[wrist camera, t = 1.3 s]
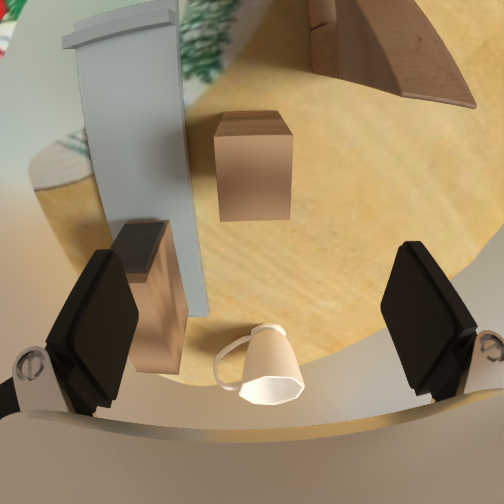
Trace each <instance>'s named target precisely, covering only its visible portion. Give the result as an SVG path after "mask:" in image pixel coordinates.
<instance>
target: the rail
mask: <svg viewBox="0 0 504 504" xmlns="http://www.w3.org/2000/svg"><path fill="white" fill-rule="evenodd" d="M62 47H63V49H75V48H76V56H77V67H78V78H79V87H80V94H81V102H82V108H83V115H84V121H85V128H86V133H87V139H88V144H89V149H90V154H91V159H92V164H93V168H94V173H95V177H96V181H97V185H98V190H99V194H100V198H101V201H102V205H103V209H104V213H105V216H106V220H107V223H108V227H109V230H110V234H111V237H112V240H113V242H114V241H115V239H116V237H117V236H118V234H119V232H120V230H121V229H122V227H123V226H124V224H126V223H127V222H138V221H155V220H170V223H171V228H172V234H173V239H174V244H175V249H176V254H177V259H178V264H179V269H180V274H181V278H182V283H183V288H184V292H185V296H186V301H187V305H188V309H189V312H188V317H209V304H208V298H207V292H206V285H205V279H204V272H203V266H202V259H201V252H200V245H199V238H198V231H197V223H196V216H195V208H194V200H193V192H192V183H191V174H190V165H189V156H188V146H187V136H186V125H185V113H184V101H183V87H182V73H181V56H180V36H179V8H178V0H155V1H150V2H145V3H141V4H136V5H132V6H128V7H124V8H120V9H117V10H113V11H109V12H106V13H103V14H99V15H96V16H93V17H90V18H87V19H84V20H81V21H78V22H76V23H75V32H74V33H72V34H69V35H66V36H64V37H62Z"/></svg>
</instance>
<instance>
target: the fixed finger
mask: <svg viewBox="0 0 504 504" xmlns="http://www.w3.org/2000/svg"><path fill="white" fill-rule="evenodd" d="M110 249H112V250H113V251H114V252H115V253H117V254H119V256H120V259H121V262H122V265H123V268H124V271H125V274H126V277H127V280H128V283H129V286H130V289H131V292H132V294H133V297H134V300H135V303H136V305H137V308H138V311H139V320H138V324H137V327H136V330H135V333H134V337H133V340H132V344H131V347H130V350H129V354H128V356H129V358H130V360H131V362H132V364H133V365H134V367H135V369H136V371H137V372H144V373H157V374H175V375H179V368H180V362H181V355H182V349H183V342H184V336H185V330H186V324H187V318H188V312H189V309H188V305H187V301H186V296H185V292H184V288H183V283H182V278H181V274H180V269H179V264H178V259H177V254H176V249H175V244H174V239H173V234H172V228H171V223H170V220H155V221H138V222H127V223H126V224H124V226H123V227H122V229H121V230H120V232H119V234H118V236H117V237H116V239H115V241H114V242H113V244H112V246H111V248H110Z"/></svg>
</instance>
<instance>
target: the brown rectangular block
mask: <svg viewBox="0 0 504 504" xmlns="http://www.w3.org/2000/svg"><path fill="white" fill-rule="evenodd" d="M214 149H215V163H216V177H217V190H218V202H219V214H220V222H228V221H262V220H290V204H291V181H292V153H293V134H292V133H291V131H290V130H289V128H288V126H287V125H286V123H285V122H284V120H283V119H282V117H281V115H280V114H279V112H278V111H233V112H224V113H223V116H222V118H221V120H220V123H219V125H218V128H217V130H216V133H215V135H214Z"/></svg>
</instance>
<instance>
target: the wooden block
mask: <svg viewBox="0 0 504 504" xmlns="http://www.w3.org/2000/svg"><path fill="white" fill-rule="evenodd" d="M307 5H308V16H309V26H310V28H311V29H313V30H312V31H311V32H310V43H311V59H312V71H313V73H315V74H318V75H323V76H328V77H332V78H337V79H341V80H345V81H349V82H353V83H357V84H361V85H364V86H368V87H371V88H375V89H378V90H381V91H385V92H388V93H391V94H394V95H397V96H400V97H405V98H413V99H420V100H427V101H434V102H440V103H446V104H451V105H456V106H461V107H466V108H471V109H475V108H477V105H476V102H475V100H474V98H473V96H472V94H471V92H470V89H469V87H468V85H467V83H466V81H465V79H464V78H463V76H462V74H461V72H460V70H459V68H458V66H457V65H456V63H455V61H454V59H453V57H452V56H451V54H450V52H449V51H448V49H447V47H446V46H445V44H444V42H443V41H442V39H441V38H440V36H439V35H438V33H437V32H436V30H435V29H434V27H433V26H432V24H431V23H430V21H429V20H428V18H427V17H426V15H425V14H424V13H423V11H422V10H421V9H420V7H419V6H418V5H417V3H416V2H415V1H414V0H307Z"/></svg>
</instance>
